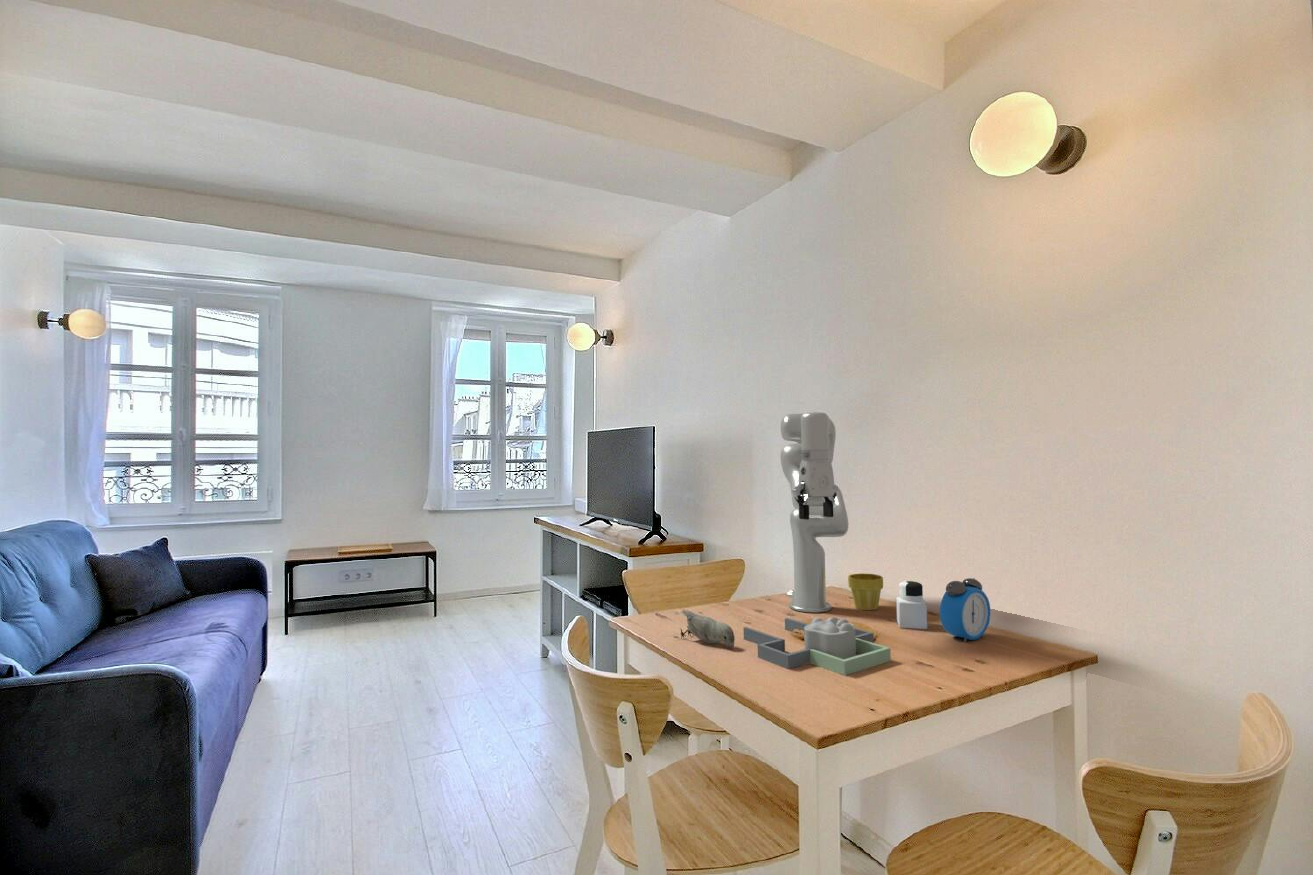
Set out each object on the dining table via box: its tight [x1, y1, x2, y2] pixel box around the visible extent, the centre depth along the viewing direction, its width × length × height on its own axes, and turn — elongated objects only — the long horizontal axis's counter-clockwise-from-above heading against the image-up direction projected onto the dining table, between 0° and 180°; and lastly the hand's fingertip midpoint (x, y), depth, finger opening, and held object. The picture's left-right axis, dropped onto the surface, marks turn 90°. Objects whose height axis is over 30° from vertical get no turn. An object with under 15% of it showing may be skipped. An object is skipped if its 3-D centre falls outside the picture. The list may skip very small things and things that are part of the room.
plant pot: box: [847, 572, 884, 611], centre depth 194 cm, size 10×10×10 cm
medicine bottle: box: [895, 580, 928, 630], centre depth 174 cm, size 7×7×12 cm
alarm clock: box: [939, 577, 991, 643], centre depth 162 cm, size 13×6×15 cm, turn 120°
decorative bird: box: [679, 609, 736, 650], centre depth 161 cm, size 5×16×8 cm, turn 48°
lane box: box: [743, 617, 892, 676], centre depth 154 cm, size 33×30×3 cm
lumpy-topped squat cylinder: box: [803, 616, 857, 659], centre depth 149 cm, size 10×13×9 cm
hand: (816, 517), depth 174 cm, fingers open, 9 cm apart
